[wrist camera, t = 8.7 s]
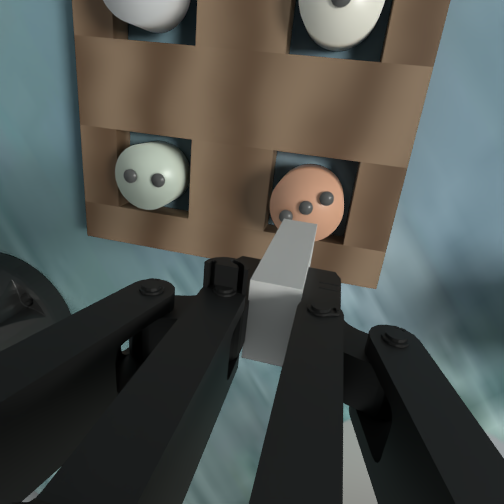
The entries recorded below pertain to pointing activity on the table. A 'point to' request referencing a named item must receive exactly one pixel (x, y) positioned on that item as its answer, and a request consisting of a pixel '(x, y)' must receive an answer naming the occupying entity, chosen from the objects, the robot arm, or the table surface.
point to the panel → (251, 124)
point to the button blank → (150, 13)
